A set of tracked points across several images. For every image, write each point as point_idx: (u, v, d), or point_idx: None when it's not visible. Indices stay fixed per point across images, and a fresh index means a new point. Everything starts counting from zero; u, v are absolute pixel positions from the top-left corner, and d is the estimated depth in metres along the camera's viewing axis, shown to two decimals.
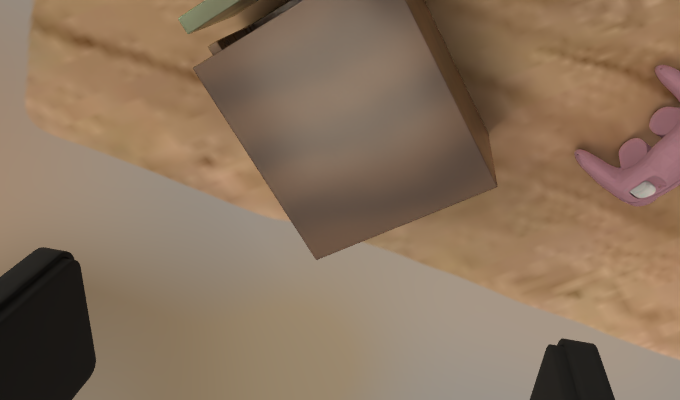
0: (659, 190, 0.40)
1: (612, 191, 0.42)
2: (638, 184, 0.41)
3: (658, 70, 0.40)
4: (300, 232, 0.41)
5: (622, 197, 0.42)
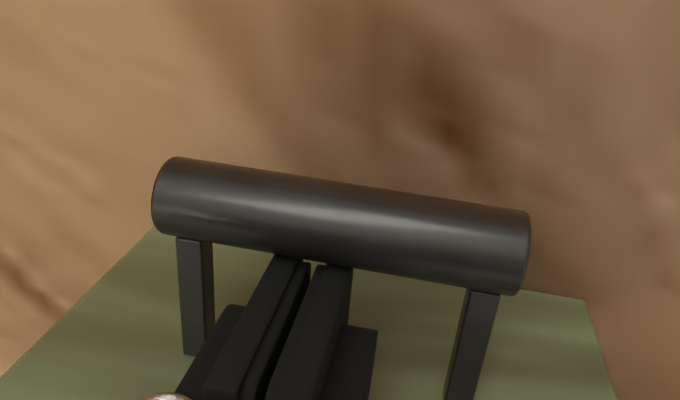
0: None
1: None
2: None
3: None
4: None
5: None
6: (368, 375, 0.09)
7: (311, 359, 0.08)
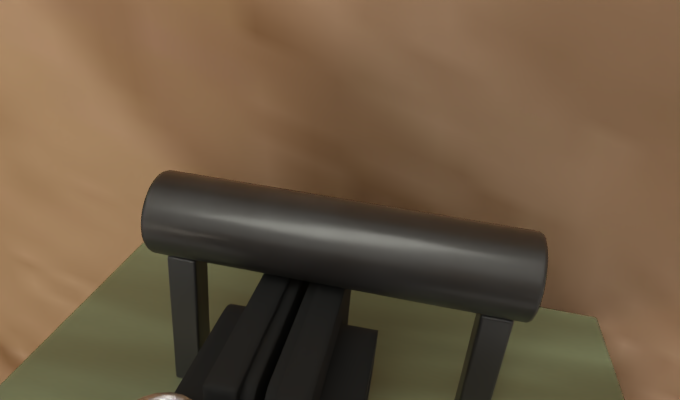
0: None
1: None
2: None
3: None
4: None
5: None
6: (368, 375, 0.09)
7: (311, 359, 0.08)
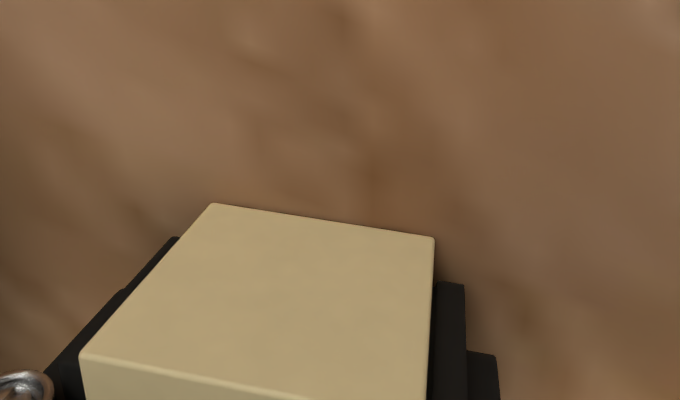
0: None
1: None
2: None
3: None
4: None
5: None
6: None
7: (454, 392, 0.08)
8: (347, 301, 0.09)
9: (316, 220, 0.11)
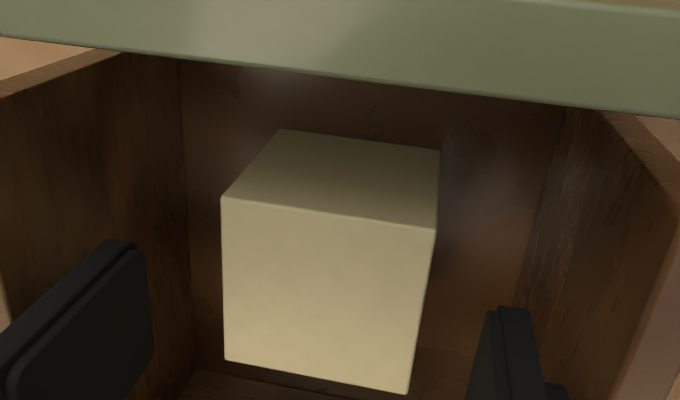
0: None
1: None
2: None
3: None
4: None
5: None
6: None
7: None
8: (383, 179, 0.13)
9: (356, 140, 0.15)
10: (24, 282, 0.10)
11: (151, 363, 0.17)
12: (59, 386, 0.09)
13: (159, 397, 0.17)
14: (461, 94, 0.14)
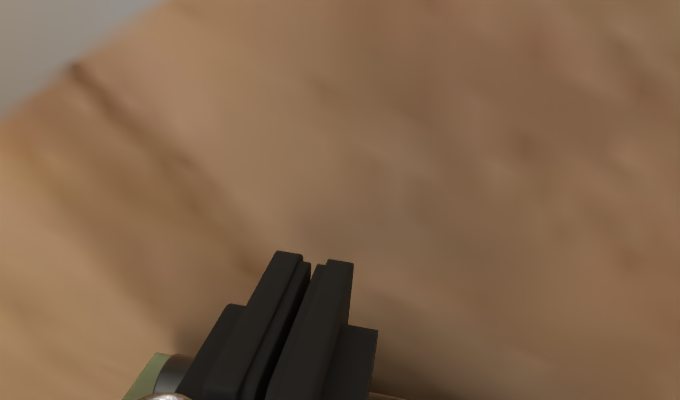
0: None
1: None
2: None
3: None
4: None
5: None
6: (368, 375, 0.09)
7: (311, 359, 0.08)
8: None
9: None
10: None
11: None
12: None
13: None
14: None
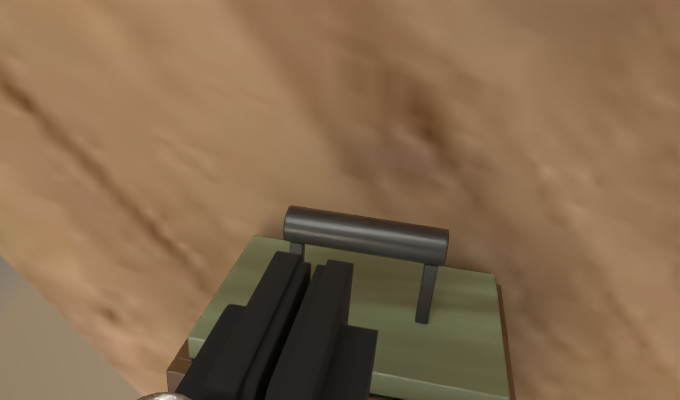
0: None
1: None
2: None
3: None
4: None
5: None
6: (368, 375, 0.09)
7: (311, 359, 0.08)
8: None
9: None
10: None
11: None
12: None
13: None
14: None
